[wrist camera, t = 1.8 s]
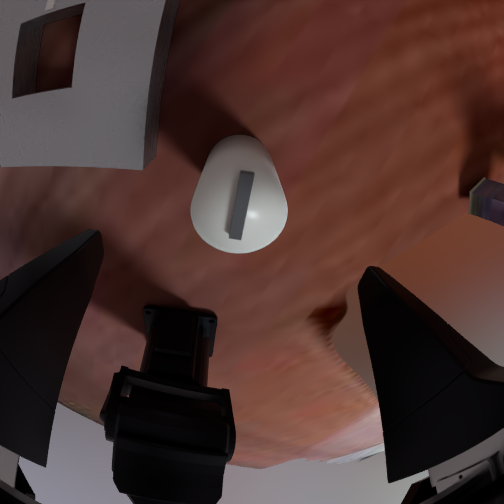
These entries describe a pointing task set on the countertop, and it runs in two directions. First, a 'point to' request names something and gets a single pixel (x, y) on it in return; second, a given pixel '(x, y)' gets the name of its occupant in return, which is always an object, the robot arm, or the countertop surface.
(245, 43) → the countertop surface
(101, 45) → the plate
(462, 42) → the countertop surface
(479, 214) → the toy gun
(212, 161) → the knob
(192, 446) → the robot arm
